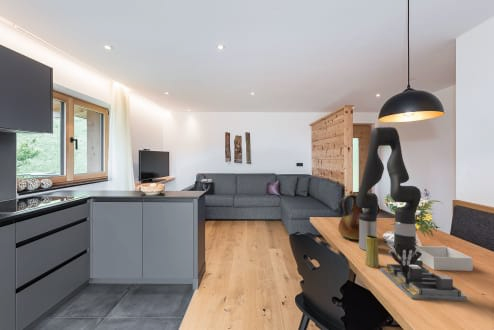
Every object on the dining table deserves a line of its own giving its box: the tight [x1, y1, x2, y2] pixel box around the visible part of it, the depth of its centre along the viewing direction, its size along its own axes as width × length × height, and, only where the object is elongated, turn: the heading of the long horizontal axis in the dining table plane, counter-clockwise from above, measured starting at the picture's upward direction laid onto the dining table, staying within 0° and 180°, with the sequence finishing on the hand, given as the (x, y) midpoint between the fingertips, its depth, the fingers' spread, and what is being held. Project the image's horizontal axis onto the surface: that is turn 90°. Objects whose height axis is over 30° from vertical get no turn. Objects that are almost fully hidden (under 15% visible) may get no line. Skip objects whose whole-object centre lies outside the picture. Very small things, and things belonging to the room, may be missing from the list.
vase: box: [364, 235, 380, 269], centre depth 113 cm, size 6×6×14 cm
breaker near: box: [436, 274, 454, 290], centre depth 87 cm, size 3×4×6 cm
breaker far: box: [410, 258, 423, 269], centre depth 103 cm, size 3×4×6 cm
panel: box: [380, 263, 468, 302], centre depth 95 cm, size 22×20×4 cm
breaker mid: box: [407, 265, 422, 278], centre depth 95 cm, size 3×4×6 cm
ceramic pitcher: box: [338, 193, 364, 241], centre depth 153 cm, size 20×20×30 cm
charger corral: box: [415, 245, 474, 272], centre depth 114 cm, size 15×18×6 cm
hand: (404, 273), depth 95 cm, fingers closed
